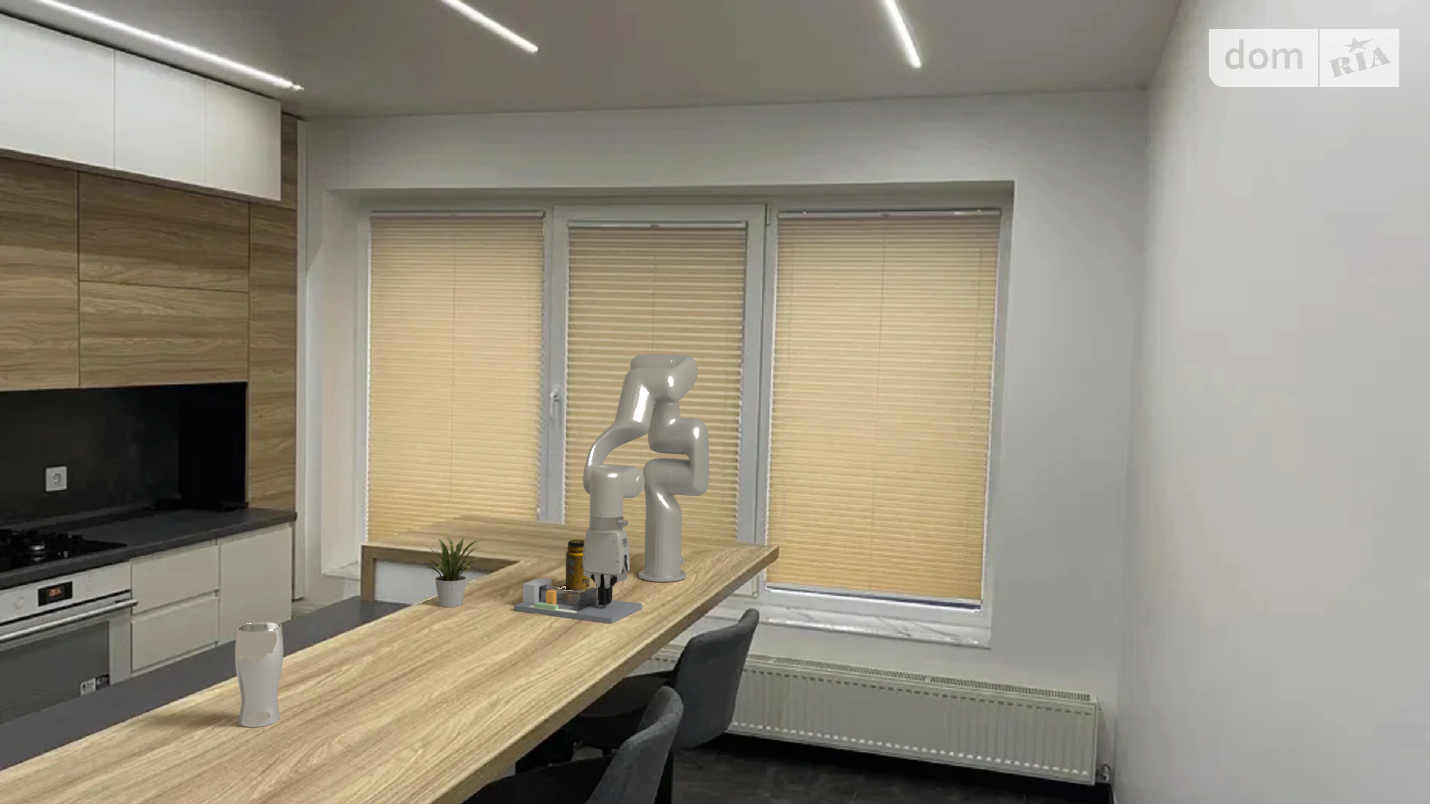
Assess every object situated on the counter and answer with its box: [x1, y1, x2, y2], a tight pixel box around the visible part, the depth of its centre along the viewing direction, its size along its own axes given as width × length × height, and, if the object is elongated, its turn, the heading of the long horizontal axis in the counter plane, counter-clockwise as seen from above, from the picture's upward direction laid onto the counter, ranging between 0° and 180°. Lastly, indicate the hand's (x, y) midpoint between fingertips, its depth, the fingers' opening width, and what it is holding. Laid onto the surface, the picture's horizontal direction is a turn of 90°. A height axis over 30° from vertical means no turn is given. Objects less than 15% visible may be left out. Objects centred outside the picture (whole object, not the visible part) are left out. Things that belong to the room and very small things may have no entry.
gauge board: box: [513, 577, 643, 625], centre depth 237 cm, size 15×25×5 cm, turn 68°
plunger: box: [539, 586, 598, 611], centre depth 237 cm, size 9×15×4 cm, turn 68°
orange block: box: [546, 590, 557, 605], centre depth 234 cm, size 2×2×4 cm
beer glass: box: [234, 620, 284, 728], centre depth 162 cm, size 7×7×15 cm
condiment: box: [552, 539, 592, 592], centre depth 258 cm, size 7×8×12 cm
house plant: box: [421, 535, 482, 608], centre depth 238 cm, size 14×14×16 cm
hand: (604, 603), depth 234 cm, fingers closed
